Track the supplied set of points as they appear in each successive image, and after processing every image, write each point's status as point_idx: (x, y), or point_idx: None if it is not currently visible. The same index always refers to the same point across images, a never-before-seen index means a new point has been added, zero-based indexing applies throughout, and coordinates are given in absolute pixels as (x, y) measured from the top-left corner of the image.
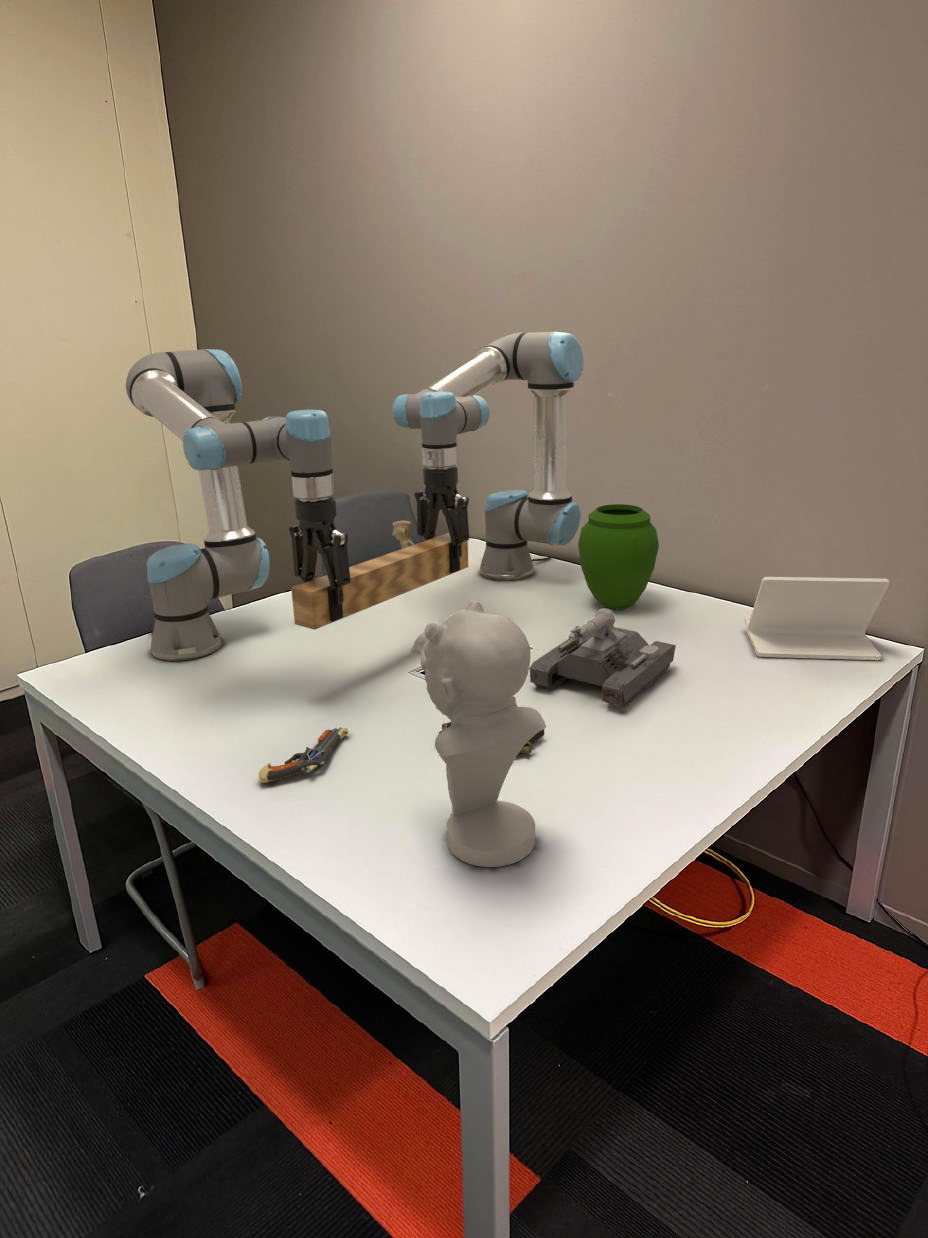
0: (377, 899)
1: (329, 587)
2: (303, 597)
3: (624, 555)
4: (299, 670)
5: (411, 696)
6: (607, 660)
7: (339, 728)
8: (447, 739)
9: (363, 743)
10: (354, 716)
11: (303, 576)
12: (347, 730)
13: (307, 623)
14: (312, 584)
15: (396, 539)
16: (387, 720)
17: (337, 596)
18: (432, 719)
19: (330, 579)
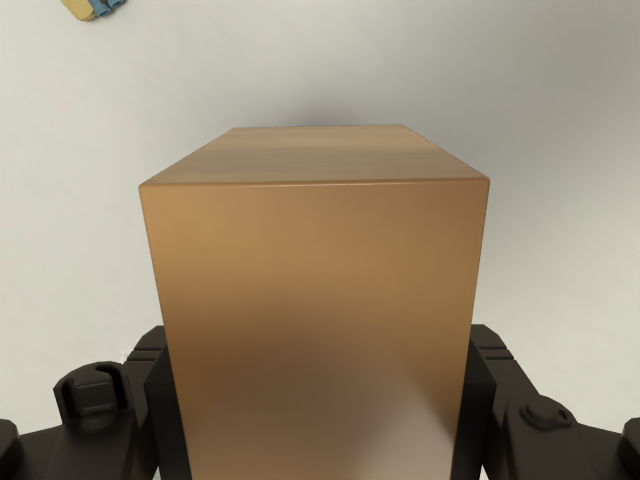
0: None
1: (100, 378)
2: (288, 163)
3: None
4: (514, 237)
5: (154, 285)
6: None
7: (96, 4)
8: None
9: (25, 16)
10: (174, 122)
11: (545, 436)
12: (70, 10)
13: (286, 130)
14: (350, 366)
15: None
16: (91, 156)
17: (128, 364)
18: (17, 224)
19: (91, 471)
